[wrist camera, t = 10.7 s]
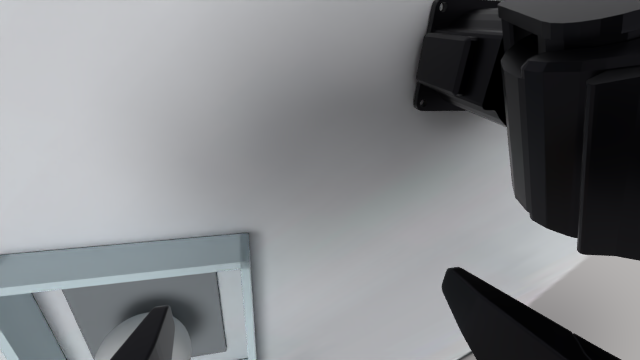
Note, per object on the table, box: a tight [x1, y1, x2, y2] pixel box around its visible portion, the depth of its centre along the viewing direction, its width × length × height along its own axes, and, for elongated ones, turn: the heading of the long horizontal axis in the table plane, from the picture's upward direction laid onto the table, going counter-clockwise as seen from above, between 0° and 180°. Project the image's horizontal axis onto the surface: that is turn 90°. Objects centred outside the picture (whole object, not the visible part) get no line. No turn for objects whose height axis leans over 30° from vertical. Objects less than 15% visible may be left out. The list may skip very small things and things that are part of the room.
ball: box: [94, 312, 192, 360], centre depth 22 cm, size 6×6×6 cm
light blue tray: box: [0, 233, 257, 360], centre depth 23 cm, size 15×15×3 cm
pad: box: [62, 272, 226, 359], centre depth 24 cm, size 10×10×1 cm
